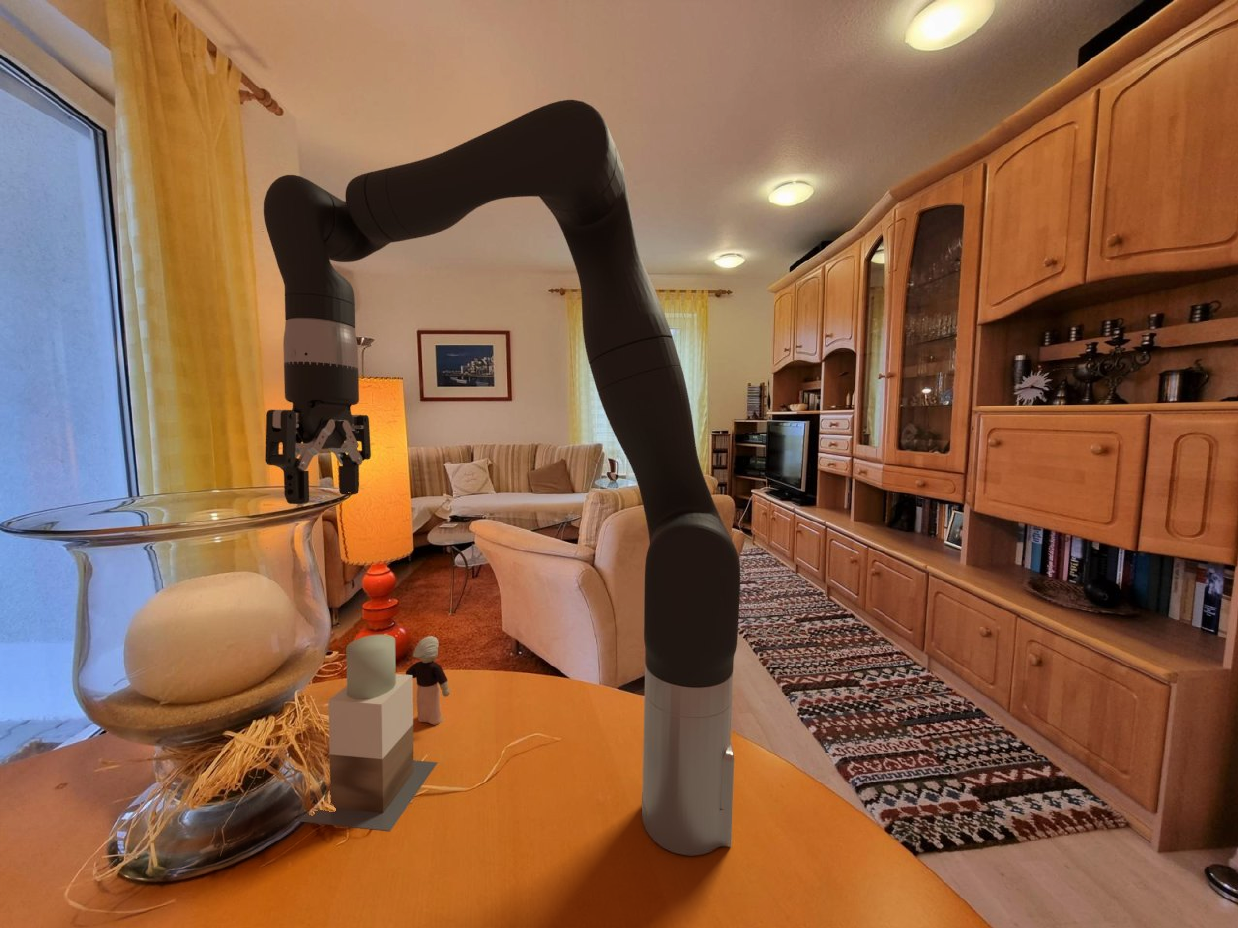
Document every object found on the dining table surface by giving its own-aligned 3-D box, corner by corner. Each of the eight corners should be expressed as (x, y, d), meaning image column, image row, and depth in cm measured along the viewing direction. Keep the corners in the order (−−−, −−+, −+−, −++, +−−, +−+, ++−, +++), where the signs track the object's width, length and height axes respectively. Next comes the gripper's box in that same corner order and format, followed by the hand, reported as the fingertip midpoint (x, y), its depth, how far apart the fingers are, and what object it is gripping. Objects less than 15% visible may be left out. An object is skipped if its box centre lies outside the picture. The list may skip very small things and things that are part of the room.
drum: (404, 677, 54) (403, 635, 54) (379, 700, 50) (378, 655, 49) (365, 674, 55) (364, 633, 55) (336, 697, 50) (335, 652, 50)
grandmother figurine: (460, 718, 68) (459, 633, 67) (446, 735, 64) (445, 645, 63) (411, 713, 69) (409, 629, 68) (394, 729, 65) (393, 641, 64)
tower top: (413, 724, 55) (412, 675, 55) (382, 759, 49) (381, 704, 49) (365, 720, 56) (364, 671, 56) (329, 754, 50) (328, 700, 50)
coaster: (437, 768, 58) (437, 762, 58) (390, 837, 48) (389, 830, 48) (361, 761, 59) (361, 755, 59) (299, 828, 49) (299, 820, 49)
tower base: (413, 772, 56) (413, 724, 55) (383, 812, 50) (382, 759, 49) (366, 767, 56) (365, 720, 56) (330, 807, 50) (329, 754, 50)
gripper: (305, 353, 48) (309, 508, 49) (387, 372, 63) (389, 492, 64) (239, 353, 49) (244, 506, 50) (335, 371, 63) (337, 490, 64)
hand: (325, 498), depth 57 cm, fingers open, 8 cm apart
